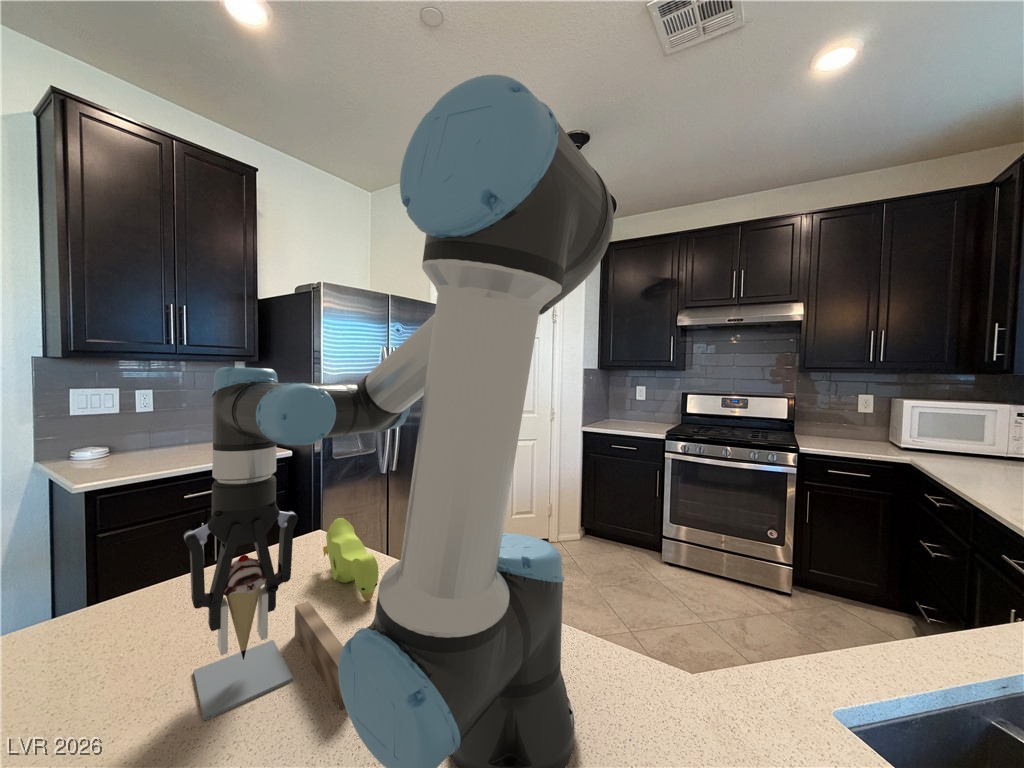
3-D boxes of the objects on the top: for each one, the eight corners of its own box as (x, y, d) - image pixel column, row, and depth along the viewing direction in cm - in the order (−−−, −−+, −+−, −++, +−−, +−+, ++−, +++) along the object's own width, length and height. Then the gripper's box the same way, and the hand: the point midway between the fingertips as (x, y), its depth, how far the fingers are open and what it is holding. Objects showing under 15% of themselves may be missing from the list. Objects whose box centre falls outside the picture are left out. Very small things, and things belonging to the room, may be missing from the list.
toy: (322, 603, 86) (357, 608, 72) (314, 523, 90) (347, 514, 76) (351, 593, 90) (390, 595, 77) (343, 517, 94) (378, 507, 81)
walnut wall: (356, 701, 53) (356, 663, 53) (340, 709, 51) (341, 671, 51) (307, 630, 67) (308, 600, 67) (294, 635, 66) (295, 605, 66)
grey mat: (293, 680, 56) (293, 677, 56) (203, 721, 49) (203, 718, 49) (273, 642, 64) (273, 639, 64) (193, 672, 57) (193, 670, 57)
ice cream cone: (242, 677, 53) (242, 566, 53) (207, 671, 54) (207, 561, 54) (275, 649, 59) (276, 548, 59) (243, 643, 60) (243, 544, 60)
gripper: (302, 464, 65) (300, 607, 65) (163, 481, 53) (161, 656, 53) (318, 473, 59) (316, 629, 60) (166, 493, 48) (164, 688, 48)
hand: (243, 641), depth 57 cm, fingers closed on ice cream cone, 4 cm apart
